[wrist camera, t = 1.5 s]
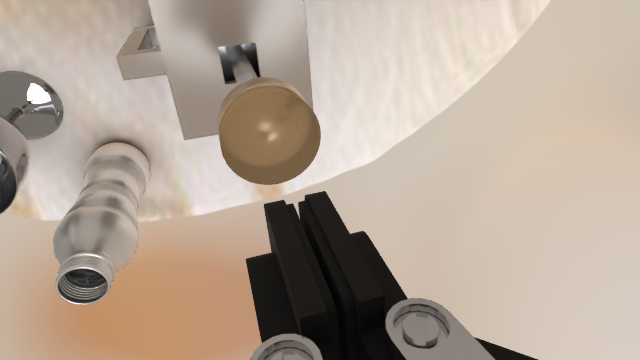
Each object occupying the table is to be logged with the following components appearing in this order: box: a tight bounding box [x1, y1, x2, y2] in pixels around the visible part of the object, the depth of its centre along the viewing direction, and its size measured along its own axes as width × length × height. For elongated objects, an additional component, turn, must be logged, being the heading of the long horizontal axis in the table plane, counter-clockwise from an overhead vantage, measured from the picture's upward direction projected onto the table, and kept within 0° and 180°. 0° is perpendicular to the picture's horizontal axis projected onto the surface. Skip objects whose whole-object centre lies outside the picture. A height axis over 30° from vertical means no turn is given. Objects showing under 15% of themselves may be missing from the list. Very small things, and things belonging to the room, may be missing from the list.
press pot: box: [116, 0, 313, 140], centre depth 34 cm, size 12×9×19 cm
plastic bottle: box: [53, 142, 150, 305], centre depth 38 cm, size 6×7×20 cm
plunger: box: [218, 43, 321, 185], centre depth 24 cm, size 7×7×19 cm
